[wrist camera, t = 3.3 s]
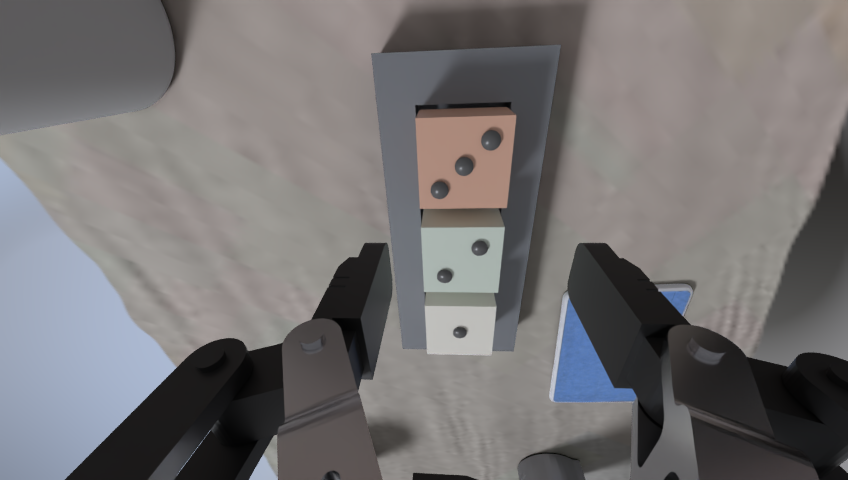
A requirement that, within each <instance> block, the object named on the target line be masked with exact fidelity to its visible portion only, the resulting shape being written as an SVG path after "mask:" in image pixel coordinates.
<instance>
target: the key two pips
mask: <svg viewBox="0 0 848 480" xmlns="http://www.w3.org/2000/svg"><path fill="white" fill-rule="evenodd" d="M504 231H505V226H504V223H503V220H502V217H501V214H500V211H499V208H457V209H424V210H423V217H422V223H421V241H422V261H423V281H424V292H467V293H498V289H499V279H500V269H501V260H502V250H503V241H504Z"/></svg>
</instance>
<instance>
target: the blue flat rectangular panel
mask: <svg viewBox="0 0 848 480" xmlns="http://www.w3.org/2000/svg"><path fill="white" fill-rule="evenodd" d="M654 285H655V286H656V287H657V288H658V291H659V292H661V293H662V294H663V295H664V296H665V297H666V298H667V299H668V300H669V301H670V303H671V304H672V305H673V306H674V307H675V308H676V309H677V310H678V311H679V312H680V314H681V315H682V316H684V314H685V312H686V309H687V306H688V304H689V302H690V299H691V297H692V294H693V290H692V288H691V286H690V285H688V284H683V283H679V284H654ZM549 397H550V399H551V400H552V401H553V402H634V400H635V398H636V394H635V393H634V391H633V389H626V388H614V387H613V385H612V383H611V381H610V379H609V377H608V375H607V373H606V371H605V369H604V367H603V365H602V363H601V361H600V359H599V357H598V355H597V353H596V351H595V349H594V347H593V345H592V343H591V341H590V339H589V337H588V335H587V333H586V331H585V329H584V327H583V325H582V323H581V321H580V319H579V317H578V315H577V313H576V311H575V309H574V307H573V305H572V303H571V301H570V299H569V295H568V291H566V292H565V293H564V295H563V299H562V307H561V315H560V322H559V330H558V337H557V344H556V352H555V359H554V366H553V371H552V378H551V385H550V394H549Z"/></svg>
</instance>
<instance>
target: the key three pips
mask: <svg viewBox="0 0 848 480" xmlns="http://www.w3.org/2000/svg"><path fill="white" fill-rule="evenodd" d="M415 121H416V141H417V161H418V181H419V201H420V209H457V208H507V202H508V192H509V183H510V173H511V163H512V154H513V144H514V135H515V125H516V114H515V113H513V112H512V111H511V110H510V109H509V108H508V107H486V108H456V109H425V110H419V112H418V114H417V116H416V118H415Z"/></svg>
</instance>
